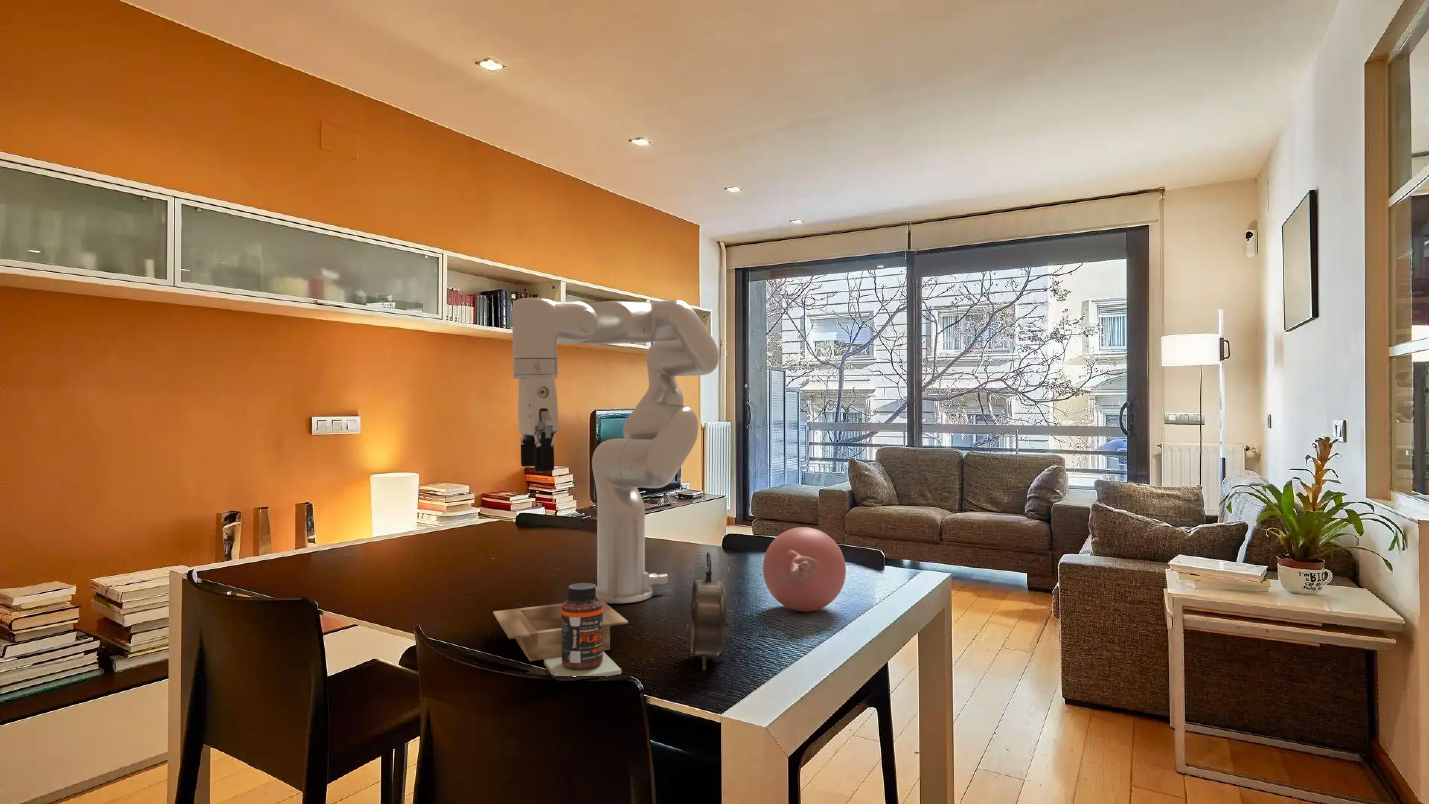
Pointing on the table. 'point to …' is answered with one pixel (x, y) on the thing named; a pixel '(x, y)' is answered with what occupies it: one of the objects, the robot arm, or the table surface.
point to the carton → (546, 628)
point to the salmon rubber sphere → (804, 569)
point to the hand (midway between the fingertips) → (537, 468)
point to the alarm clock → (708, 617)
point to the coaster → (601, 670)
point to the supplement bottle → (582, 628)
